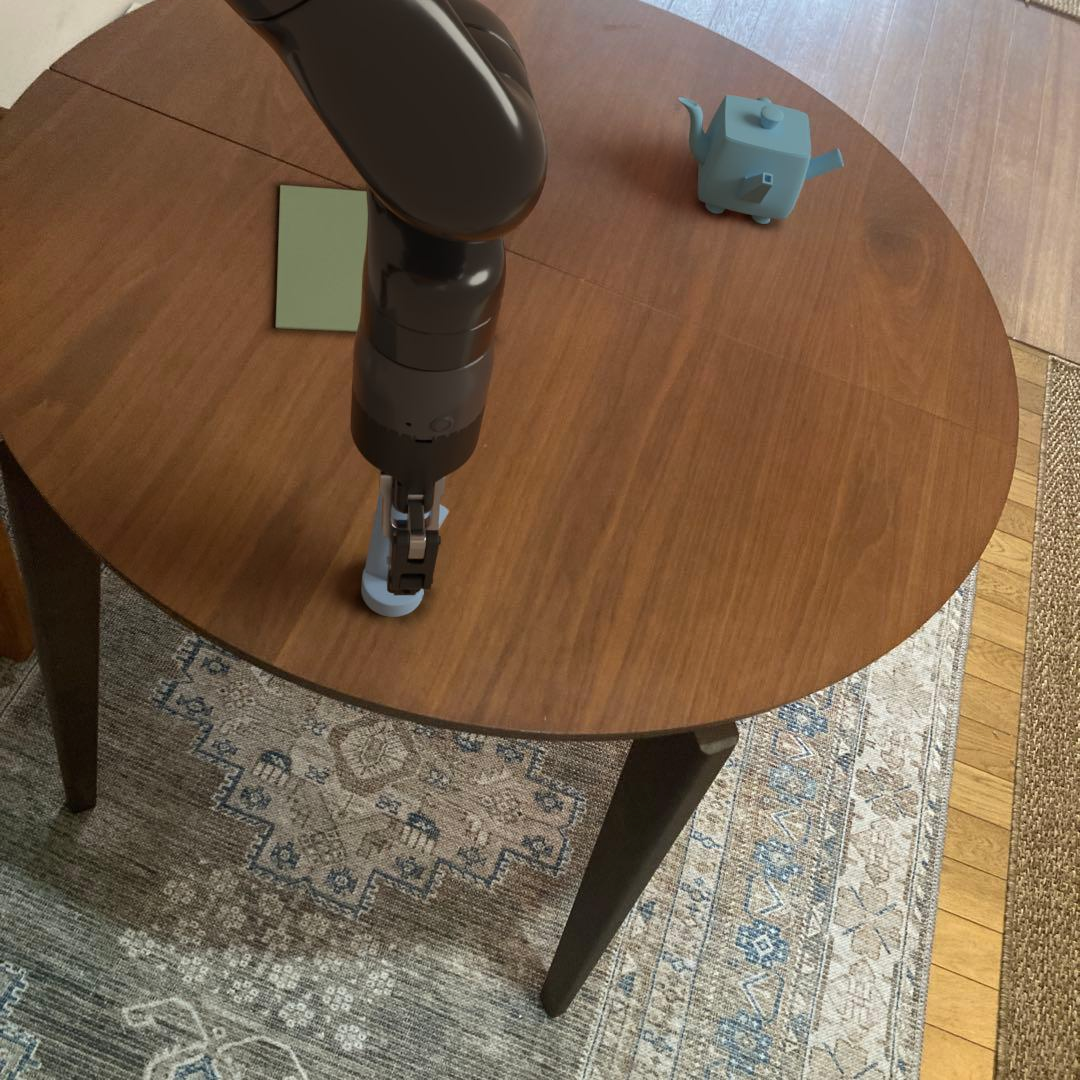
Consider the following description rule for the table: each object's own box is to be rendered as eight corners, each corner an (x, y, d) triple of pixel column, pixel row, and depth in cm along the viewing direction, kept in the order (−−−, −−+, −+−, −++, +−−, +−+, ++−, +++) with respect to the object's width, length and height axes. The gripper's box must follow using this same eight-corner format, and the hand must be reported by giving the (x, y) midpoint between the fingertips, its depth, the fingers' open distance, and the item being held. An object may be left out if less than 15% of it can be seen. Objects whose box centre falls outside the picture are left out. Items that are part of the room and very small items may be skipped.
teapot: (815, 178, 113) (855, 95, 104) (822, 264, 105) (865, 182, 96) (655, 141, 111) (683, 53, 103) (649, 226, 103) (678, 138, 95)
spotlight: (379, 537, 78) (344, 612, 74) (388, 456, 70) (348, 535, 66) (442, 559, 78) (410, 635, 74) (457, 480, 69) (422, 561, 66)
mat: (275, 328, 87) (275, 326, 87) (280, 186, 97) (280, 184, 96) (487, 337, 91) (487, 336, 91) (471, 200, 100) (472, 199, 100)
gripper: (350, 283, 60) (343, 455, 74) (354, 484, 53) (346, 635, 66) (478, 290, 62) (448, 458, 76) (499, 486, 54) (462, 633, 68)
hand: (401, 540), depth 71 cm, fingers closed on spotlight, 7 cm apart
